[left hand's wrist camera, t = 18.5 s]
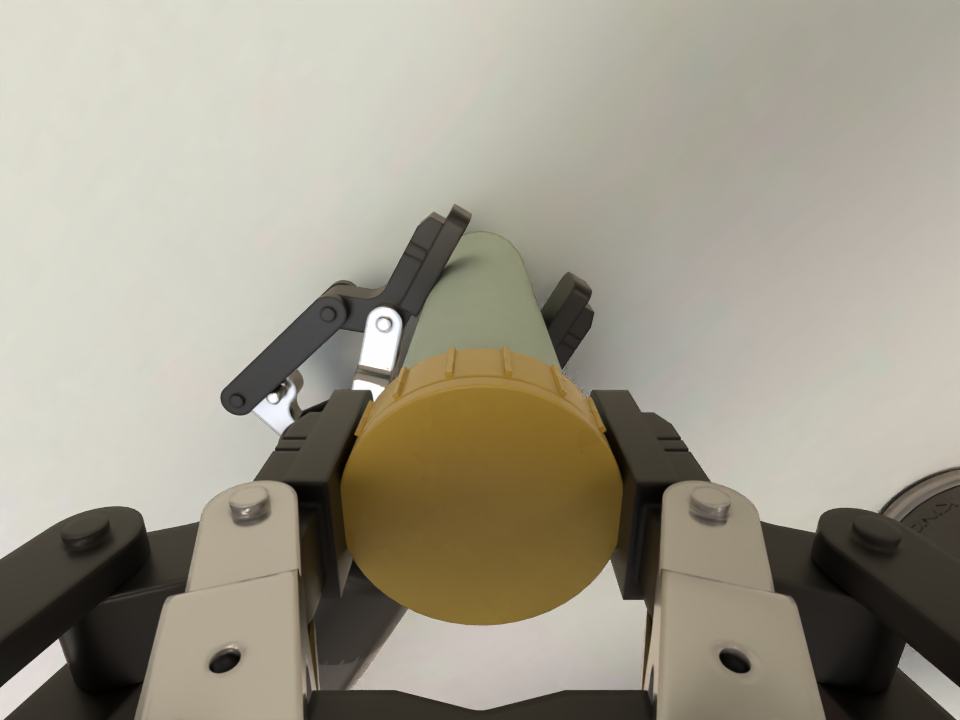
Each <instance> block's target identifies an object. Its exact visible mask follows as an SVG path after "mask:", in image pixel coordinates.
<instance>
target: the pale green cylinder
mask: <svg viewBox="0 0 960 720" xmlns="http://www.w3.org/2000/svg"><path fill="white" fill-rule="evenodd" d="M503 346H508V347H509V350H510V351H513V352H517V353H520V354H523V355H527V356H530V357H532V358H535V359H537V360H539V361H541V362H543V363H546V364H547V365H549V366H552V364H553V363H554V364H555V365H557V366H558V368H559V370H560V373H562V370H561V367H560V364H559V361H558V359H557V356H556V353H555V350H554V348H553V345H552V342H551V339H550V336H549V334H548V331H547V328H546V325H545V323H544V320H543V317H542V314H541V311H540V309H539V306H538V303H537V300H536V297H535V295H534V292H533V289H532V286H531V284H530V281H529V278H528V275H527V272H526V270H525V267H524V264H523V261H522V259H521V256H520V255H519V253H518V251H517V250H516V248H515V247H514V246H513V245H512V244H511V243H510V242H509V241H507V240H506V239H505V238H503V237H501V236H499V235H496V234H493V233H489V232H473V233H469V234H466V235H463V236H462V237H461V239H460V240H459V242H458V244H457V246H456V248H455V249H454V251H453V253H452V255H451V257H450V258H449V260H448V262H447V264H446V266H445V267H444V269H443V271H442V273H441V275H440V276H439V278H438V280H437V282H436V284H435V285H434V287H433V289H432V291H431V292H430V294H429V296H428V297H427V299H426V302H425V304H424V307H423V310H422V313H421V315H420V318H419V321H418V324H417V327H416V330H415V332H414V335H413V338H412V341H411V344H410V347H409V349H408V352H407V355H406V358H405V361H404V364H403V366H402V368H403V367H404V366H406V367H407V368H408V369H409V368H411V367H412V366H414V365H416V364H418V363H420V362H422V361H424V360H426V359H428V358H431V357H434V356H437V355H440V354H443V353H446V352H448V351H449V348H450V347H455V349H456V350H461V349H472V348H491V349H501V350H502V349H503ZM562 374H563V373H562Z"/></svg>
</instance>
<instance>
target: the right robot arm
mask: <svg viewBox="0 0 960 720" xmlns="http://www.w3.org/2000/svg"><path fill="white" fill-rule="evenodd" d="M471 215H472V214H471V213H469V212H468V211H466V210H464V209H463V208H461V207H459V206H457V205H456V204H454V205H453V207H452V209H451V211H450V213H449V215H448V216H447V218H446V219H445V218H444V217H442V216H440V215H439V214H437V213H435V212H432V213H431V214H430V215H429V216H428V217H426V218H425V219H424V220H423V221H422V222H421V223H420V224H419V225H418V227H417V229H416V231H415V232H414V234H413V236H412V238H411V240H410V242H409V244H408V246H407V248H406V250H405V251H404V253H403V255H402V257H401V259H400V261H399V263H398V265H397V267H396V269H395V270H394V272H393V274H392V276H391V278H390V280H389V282H388V284H387V285H385V286H384V287H382V288H379V289H367V288H361V287H357V286H356V285H355V284H354V283H352V282H350V281H346V280H340V281H337V282H335V283H334V284H333V285H332V286H331V287H330V288H328V289H327V290H326V291H325V292H324V293H323V294H322V295H321V296H320V297H319V298H318V299H317V300H316V301H315V302H314V303H313V304H312V305H310V306H309V307H308V308H307V309H306V310H305V311H304V312H303V313H302V314H301V315H300V316H299V317H298V318H297V319H296V320H295V321H294V322H293V323H292V324H291V325H290V326H289V327H288V328H287V329H286V330H285V331H284V332H283V333H281V334H280V335H279V336H278V337H277V338H276V339H275V340H274V341H273V342H272V343H271V344H270V345H269V346H268V347H267V348H266V349H265V350H264V351H263V352H262V353H261V354H260V355H259V356H258V357H257V358H256V359H255V360H254V361H252V362H251V363H250V364H249V365H248V366H247V367H246V368H245V369H244V370H243V371H242V372H241V373H240V374H239V375H238V376H237V377H236V378H235V379H234V380H233V381H232V382H231V383H230V384H229V385H228V386H227V387H226V388H224V390H223V391H222V393H221V397H220V398H221V403H222V405H223V407H224V408H225V409H226V410H227V411H228V412H230V413H232V414H234V415H246V414H248V413H250V412H252V413H254V414H255V415H256V416H257V417H258V418H259V419H261V420H262V421H263V422H264V423H265V424H266V425H268V426H269V427H270V428H271V429H272V430H273V431H275V432H276V433H277V434H278V435H279V436H280V439H279V442H280V440H283V436H284V434H285V433H286V431H287V430H288V429H289V427H290V426H291V424H292V423H294V422H295V421H297V420H298V419H300V418H301V417H303V416H304V415H306V414H307V413H309V412H322V411H323V409H324V408H325V406H326V404H327V402H328V401H329V400H327V401H324V402H322V403H320V404H317V405H315V406H313V407H310V408H308V409H306V410H303V411H302V410H301V409H300V408H299V406H298V403H297V395H298V393H299V392H300V390H301V389H302V387H303V383H304V382H303V377H302V375H301V374H300V372H299V371H298V370H297V368H298V367H299V366H300V365H301V364H302V363H303V362H304V361H305V360H307V359H308V358H309V357H310V356H311V355H312V354H313V353H314V352H315V351H316V350H317V349H318V348H319V347H321V346H322V345H323V344H324V343H325V342H326V341H327V340H328V339H329V338H330V337H331V336H332V335H333V334H334V333H336V332H337V331H338V330H339V329H344V330H350V331H356V332H363V333H364V337H363V342H362V348H361V353H360V358H359V363H358V367H357V370H356V373H355V376H354V380H353V385H352V390H371V391H372V394H373V400H374V402H375V400H376V398H377V397H378V396H379V395H380V393H381V392H382V391H383V390H384V389H385V388H386V386H387V385H389V384H390V383H391V382H392V381H393V380H394V379H395V378H396V376H397V371H398V367H399V362H400V357H401V352H402V345H403V340H404V335H405V331H406V326H407V322H408V320H409V318H410V317H411V315H413V316H415V317H417V316H418V314H419V312H420V311H421V309H422V307H423V305H424V303H425V302H426V299H427V297H428V296H429V294H430V292H431V291H432V289H433V287H434V285H435V284H436V282H437V280H438V278H439V276H440V275H441V273H442V271H443V269H444V267H445V266H446V264H447V262H448V260H449V258H450V257H451V255H452V253H453V251H454V249H455V248H456V246H457V244H458V242H459V240H460V239H461V237H462V235H463V233H464V231H465V230H466V228H467V226H468V224H469V222H470V220H471ZM591 294H592V290H591V288H590V287H589V286H588V284H587V283H586V282H585V281H583V280H582V279H580V278H578V277H577V276H575V275H573V274H572V273H570V272H567V273H566V274H565V275H564V276H563V278H562V279H561V280H560V282H559V283H558V285H557V287H556V288H555V290H554V291H553V293H552V294H551V296H550V298H549V299H548V301H547V302H546V304H545V305H544V307H543V308H542V310H541V314H542V317H543V320H544V323H545V325H546V328H547V331H548V334H549V336H550V339H551V342H552V345H553V348H554V350H555V353H556V356H557V359H558V361H559V364H560V367H561V370H562V369H563V368H564V366H565V365H566V363H567V362H568V360H569V359H570V357H571V356H572V354H573V353H574V351H575V349H576V348H577V347H578V345H579V344H580V343H581V340H583V338H584V337H585V335H586V334H587V332H588V331H589V329H590V328H591V325H592V320H593V316H594V311H593V310H592V308H591V307H590V305H589V304H588V301H589V299H590V297H591ZM882 515H884V516H887V517H890V518H892V519H895V520H897V521H899V522H901V523H903V524H905V525H906V526H908V527H910V528H911V529H913V530H915V531H916V532H918V533H919V534H921V535H922V536H924V537H926V538H927V539H929V540H930V541H932V542H933V543H935V544H936V545H938V546H940V547H941V548H943V549H944V550H946V551H947V552H949V553H950V554H952V555H953V556H955V557H957V558H958V559H960V469H959V470H954V471H950V472H946V473H943V474H940V475H937V476H935V477H932V478H930V479H928V480H926V481H924V482H922V483H920V484H918V485H916V486H915V487H913V488H911V489H910V490H908V491H907V492H905V493H904V494H903V495H901V496H900V497H899V498H898V499H897V500H895V501H894V502H893V503H892V504H891V505H890V506H889V507H888V508H887V509H886V511H885V512H884V513H883V514H882ZM407 609H408V608H407V607H404V606H402V605H401V604H399V603H398V602H396V601H394V600H393V599H391V598H390V597H388V596H387V595H386V594H384V593H383V592H382V591H381V590H379V589H378V588H377V587H376V586H375V585H374V584H373V583H372V582H371V581H370V580H369V579H368V578H367V577H366V576H365V575H364V573H363V572H362V571H361V569H360V568H359V567H358V565H357V564H356V563H355V561H354V559H353V560H352V563H351V567H350V570H349V573H348V576H347V580H346V583H345V586H344V589H343V593H342V596H341V599H320V600H319V603H318V606H317V609H316V612H315V615H314V622H315V629H316V642H317V655H318V669H319V683H320V690H350V689H351V688H352V687H353V686H354V685H355V684H356V682H357V681H358V680H359V679H360V677H361V676H362V675H363V673H364V672H365V671H366V669H367V668H368V666H369V665H370V663H371V662H372V660H373V659H374V658H375V656H376V655H377V653H378V652H379V650H380V649H381V647H382V646H383V644H384V643H385V642H386V640H387V639H388V637H389V636H390V634H391V633H392V631H393V630H394V628H395V627H396V625H397V624H398V623H399V621H400V620H401V618H402V617H403V615H404V614H405V612H406V611H407Z"/></svg>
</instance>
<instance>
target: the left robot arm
mask: <svg viewBox="0 0 960 720" xmlns="http://www.w3.org/2000/svg"><path fill="white" fill-rule="evenodd" d="M590 397H591V398H592V400H593V401H594V404H595V406H596V408H597V410H598V413H599V415H600V417H601V419H602V422H603V424H604V426H605V429H606V431H605V432H604V434H605V436H606V439H607V441H608V443H609V446H610V448H611V450H612V453H613V455H614V457H615V460H616V462H617V464H618V467H619V470H620V473H621V477H622V480H623V495H622V504H621V514H620V523H619V532H618V541H617V546H616V548H615V550H614V552H613V554H612V556H611V558H610V559H611V562H612V566H613V569H614V572H615V575H616V578H617V582H618V585H619V588H620V591H621V594H622V598H623V600H644V601H645V604H646V607H647V615H646V622H645V629H644V642H643V655H642V669H641V682H640V690H564V691H560V692H556V693H552V694H548V695H544V696H540V697H536V698H532V699H528V700H524V701H521V702H517V703H513V704H509V705H505V706H501V707H497V708H493V709H489V710H471V709H467V708H463V707H459V706H455V705H451V704H447V703H443V702H439V701H436V700H432V699H428V698H424V697H420V696H416V695H412V694H408V693H404V692H400V691H396V690H320V683H319V669H318V655H317V642H316V629H315V622H314V615H315V612H316V609H317V606H318V603H319V600H320V599H341V596H342V593H343V589H344V586H345V583H346V580H347V576H348V573H349V570H350V567H351V563H352V560H353V557H352V556H351V554H350V552H349V550H348V548H347V545H346V538H345V528H344V519H343V510H342V500H341V490H340V482H341V478H342V474H343V471H344V468H345V466H346V463H347V461H348V459H349V456H350V454H351V451H352V449H353V446H354V444H355V442H356V439H357V437H358V436H356V435H355V432H356V430H357V427H358V425H359V423H360V420H361V418H362V416H363V413H364V411H365V409H366V406H367V404H368V402H369V401H370V400H371V401H373V402H374V400H373V394H372V391H371V390H335V391H334V392H333V394H332V396H331V397H330V399H329V401H328V402H327V404H326V406H325V408H324V409H323V411H322V412H309V413H307V414H306V415H304V416H303V417H301V418H300V419H298V420H297V421H295V422H294V423H292V424H291V426H290V427H289V429H288V430H287V431H286V433H285V434H284V436H283V440H280V442H279V443H278V445H277V446H276V448H275V451H273V452H272V454H271V455H270V457H269V458H268V460H267V461H266V463H265V464H264V466H263V467H262V469H261V470H260V472H259V473H258V475H257V476H256V478H255V479H254V481H253V482H249V483H244V484H241V485H237V486H235V487H232V488H229V489H227V490H225V491H223V492H222V493H220V494H218V495H217V496H215V497H214V498H213V499H212V500H210V501H209V502H208V504H207V505H206V506H205V507H204V509H203V511H202V514H201V519H200V522H196V523H192V524H188V525H183V526H178V527H173V528H168V529H163V530H158V531H152V532H146V528H145V524H144V520H143V517H142V515H141V514H140V513H139V512H138V511H137V510H135V509H132V508H129V507H121V506H113V507H103V508H98V509H93V510H89V511H85V512H82V513H79V514H76V515H74V516H71V517H69V518H67V519H65V520H63V521H61V522H59V523H57V524H55V525H53V526H52V527H50V528H48V529H47V530H45V531H44V532H42V533H41V534H39V535H38V536H36V537H34V538H33V539H31V540H30V541H28V542H27V543H25V544H24V545H22V546H21V547H19V548H17V549H16V550H14V551H13V552H11V553H10V554H8V555H7V556H5V557H3V558H2V559H0V687H2V686H3V685H4V684H5V683H6V682H7V681H8V680H10V679H11V678H12V677H13V676H14V675H16V674H17V673H18V672H19V671H20V670H21V669H23V668H24V667H25V666H26V665H27V664H29V663H30V662H31V661H32V660H33V659H35V658H36V657H37V656H38V655H39V654H40V653H42V652H43V651H44V650H45V649H46V648H48V647H49V646H50V645H51V644H52V643H54V642H55V641H56V640H57V639H58V638H59V641H60V644H61V647H62V649H63V652H64V655H65V658H66V661H67V663H66V664H65V665H64V666H63V667H62V668H61V669H60V670H59V671H58V672H56V673H55V674H54V675H53V676H52V677H51V678H50V679H49V680H47V681H46V682H45V683H44V684H43V685H42V686H41V687H40V688H39V689H37V690H36V691H35V692H34V693H33V694H32V695H31V696H30V697H29V698H27V699H26V700H25V701H24V702H23V703H22V704H21V705H20V706H19V707H17V708H16V709H15V710H14V711H13V712H12V713H11V714H10V715H8V716H7V717H6V718H5V719H4V720H956V719H955V718H954V717H953V716H952V715H950V714H949V713H948V712H947V711H946V710H945V709H944V708H943V707H942V706H940V705H939V704H938V703H937V702H936V701H935V700H934V699H933V698H931V697H930V696H929V695H928V694H927V693H926V692H925V691H924V690H923V689H921V688H920V687H919V686H918V685H917V684H916V683H915V682H914V681H913V680H911V679H910V678H909V677H908V676H907V675H906V674H905V673H904V672H903V671H901V670H900V669H899V668H898V667H897V666H898V663H899V661H900V658H901V655H902V652H903V649H904V647H905V644H906V643H908V644H909V645H910V646H911V647H912V648H914V649H915V650H916V651H917V652H918V653H920V654H921V655H922V656H923V657H924V658H925V659H927V660H928V661H929V662H930V663H931V664H933V665H934V666H935V667H936V668H937V669H939V670H940V671H941V672H942V673H943V674H944V675H946V676H947V677H948V678H949V679H950V680H952V681H953V682H954V683H955V684H956V685H958V686H959V687H960V559H958V558H957V557H955V556H953V555H952V554H950V553H949V552H947V551H946V550H944V549H943V548H941V547H940V546H938V545H936V544H935V543H933V542H932V541H930V540H929V539H927V538H926V537H924V536H922V535H921V534H919V533H918V532H916V531H915V530H913V529H911V528H910V527H908V526H906V525H905V524H903V523H901V522H899V521H897V520H895V519H892V518H890V517H887V516H884V515H881V514H878V513H875V512H871V511H867V510H862V509H855V508H837V509H832V510H828V511H826V512H825V513H823V514H822V515H821V516H820V519H819V522H818V526H817V530H816V533H813V532H808V531H803V530H798V529H793V528H788V527H782V526H777V525H773V524H769V523H766V522H762V521H760V519H759V514H758V511H757V509H756V507H755V506H754V505H753V504H752V502H751V501H750V500H748V499H747V498H746V497H745V496H743V495H742V494H740V493H738V492H737V491H735V490H733V489H731V488H728V487H725V486H723V485H719V484H716V483H711V481H710V480H709V478H708V477H707V475H706V474H705V473H704V471H703V470H702V468H701V467H700V465H699V464H698V462H697V461H696V459H695V458H694V456H693V455H692V453H691V452H688V448H687V446H686V445H685V443H684V442H683V440H681V437H680V436H679V434H678V433H677V431H676V430H675V429H674V427H673V426H672V424H671V423H669V422H667V421H666V420H664V419H663V418H661V417H660V416H658V415H657V414H655V413H654V412H641V411H640V409H639V408H638V406H637V404H636V403H635V401H634V399H633V398H632V396H631V394H630V393H629V391H628V390H592V392H591V394H590Z"/></svg>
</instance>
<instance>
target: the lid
mask: <svg viewBox="0 0 960 720" xmlns="http://www.w3.org/2000/svg"><path fill="white" fill-rule="evenodd" d="M605 431H606V429H605V426H604V424H603V422H602V419H601V417H600V415H599V413H598V410H597V408H596V406H595V404H594V401H593V400H592V398H591V397H588V398H587V399H586V397H585V396H584V394H583V393H582V392H581V391H580V390H579V389H578V388H577V387H576V386H575V385H574V384H573V382H571V381H570V380H569V379H568V378H566V377H565V376H564V375H563V374H562V373H560V370H559V368H558V366H557V365H555V364H554V363H553V364H552V366H549V365H547V364H546V363H543V362H541V361H539V360H537V359H535V358H532V357H530V356H527V355H523V354H520V353H517V352H513V351H510V350H509V347H508V346H503V349H502V350H501V349H491V348H472V349H461V350H456V349H455V347H450V348H449V351H448V352H446V353H443V354H440V355H437V356H434V357H431V358H428V359H426V360H424V361H422V362H420V363H418V364H416V365H414V366H412V367H411V368H409V369H408V368H407V367H406V366H404V367H403V368H401V370H400V373H399V376H398V377H396V378H395V379H394V380H393V381H392V382H391V383H390V384H389V385H387V386H386V388H385V389H384V390H383V391H382V392H381V393H380V395H379V396H378V397H377V398H376V400H375V402H373V401H371V400H370V401H369V402H368V404H367V406H366V409H365V411H364V413H363V416H362V418H361V420H360V423H359V425H358V427H357V430H356V432H355V435H356V436H358V437H357V439H356V442H355V444H354V446H353V449H352V451H351V454H350V456H349V459H348V461H347V463H346V466H345V468H344V471H343V474H342V478H341V482H340V490H341V500H342V510H343V519H344V528H345V538H346V545H347V548H348V550H349V552H350V554H351V556H352V557H353V559H354V561H355V563H356V564H357V565H358V567H359V568H360V569H361V571H362V572H363V573H364V575H365V576H366V577H367V578H368V579H369V580H370V581H371V582H372V583H373V584H374V585H375V586H376V587H377V588H378V589H379V590H381V591H382V592H383V593H384V594H386V595H387V596H388V597H390V598H391V599H393V600H394V601H396V602H398V603H399V604H401V605H402V606H404V607H407V608H409V609H411V610H413V611H415V612H417V613H420V614H422V615H425V616H428V617H431V618H434V619H438V620H442V621H446V622H450V623H458V624H465V625H497V624H505V623H511V622H517V621H521V620H525V619H529V618H532V617H535V616H538V615H541V614H543V613H546V612H548V611H551V610H553V609H554V608H556V607H558V606H560V605H562V604H564V603H566V602H567V601H569V600H570V599H572V598H573V597H575V596H576V595H578V594H579V593H580V592H581V591H582V590H584V589H585V588H586V587H587V586H588V585H589V584H590V583H591V582H592V581H593V580H594V579H595V578H596V577H597V576H598V575H599V574H600V572H601V571H602V570H603V568H604V567H605V565H606V564H607V563H608V561H609V560H610V558H611V556H612V554H613V552H614V550H615V548H616V546H617V541H618V532H619V523H620V514H621V504H622V495H623V480H622V477H621V473H620V470H619V467H618V464H617V462H616V460H615V457H614V455H613V453H612V450H611V448H610V446H609V443H608V441H607V439H606V436H605V434H604V432H605Z"/></svg>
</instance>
